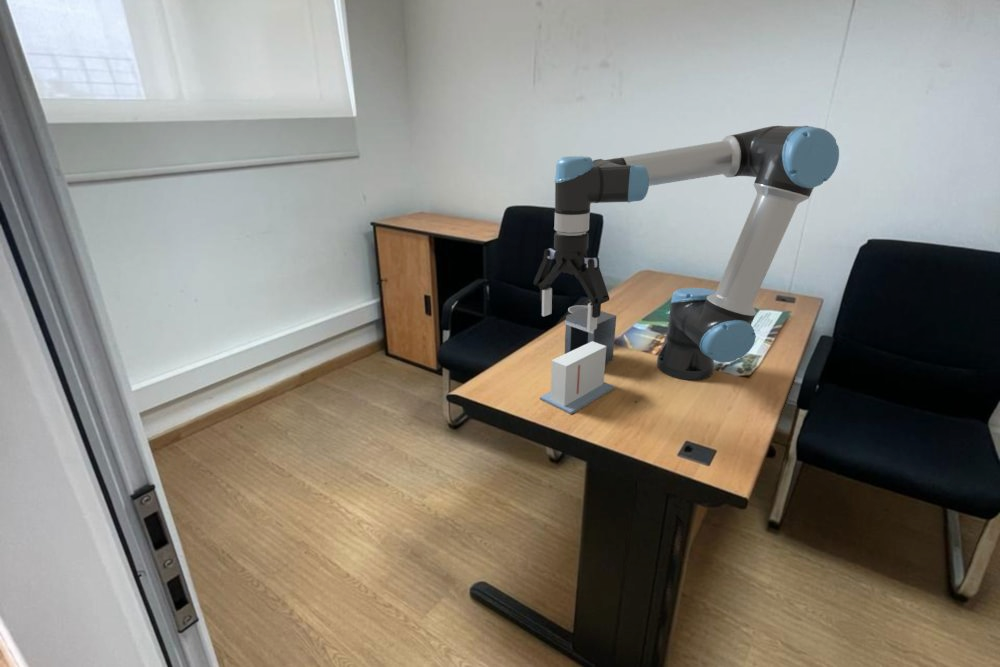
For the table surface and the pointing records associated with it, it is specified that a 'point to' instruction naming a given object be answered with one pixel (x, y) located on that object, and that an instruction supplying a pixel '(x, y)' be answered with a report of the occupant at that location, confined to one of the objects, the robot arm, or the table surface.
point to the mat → (582, 400)
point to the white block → (577, 373)
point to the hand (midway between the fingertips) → (568, 322)
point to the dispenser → (580, 336)
